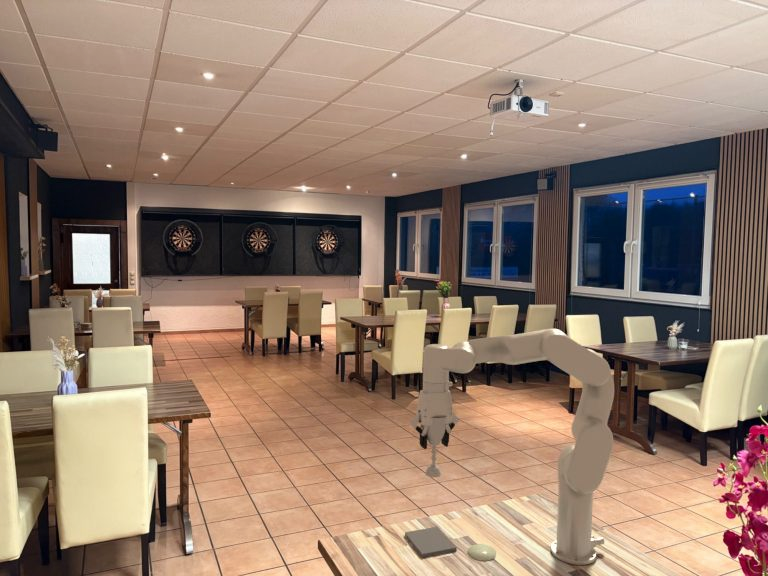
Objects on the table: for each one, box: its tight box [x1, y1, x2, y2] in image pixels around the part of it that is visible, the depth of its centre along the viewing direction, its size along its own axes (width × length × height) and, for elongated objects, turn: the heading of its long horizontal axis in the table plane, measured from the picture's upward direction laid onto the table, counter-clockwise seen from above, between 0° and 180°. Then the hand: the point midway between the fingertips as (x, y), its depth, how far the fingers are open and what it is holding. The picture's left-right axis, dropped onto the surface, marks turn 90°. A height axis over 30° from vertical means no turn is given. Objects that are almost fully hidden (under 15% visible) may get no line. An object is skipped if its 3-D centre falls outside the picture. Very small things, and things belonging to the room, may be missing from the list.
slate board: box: [404, 526, 457, 558], centre depth 170 cm, size 11×13×1 cm
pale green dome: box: [467, 543, 497, 562], centre depth 165 cm, size 8×8×1 cm
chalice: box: [424, 416, 447, 478], centre depth 169 cm, size 7×7×18 cm
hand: (434, 445), depth 168 cm, fingers closed on chalice, 6 cm apart
